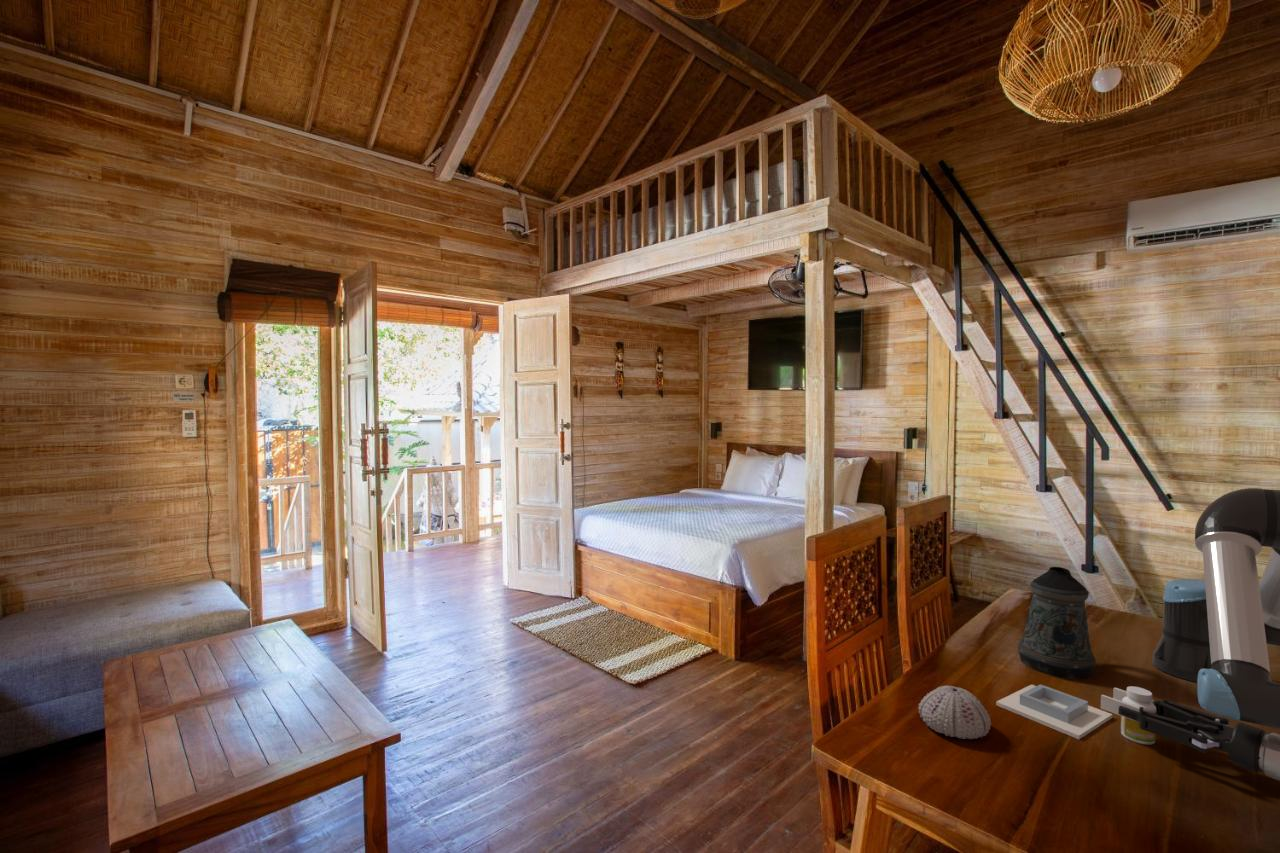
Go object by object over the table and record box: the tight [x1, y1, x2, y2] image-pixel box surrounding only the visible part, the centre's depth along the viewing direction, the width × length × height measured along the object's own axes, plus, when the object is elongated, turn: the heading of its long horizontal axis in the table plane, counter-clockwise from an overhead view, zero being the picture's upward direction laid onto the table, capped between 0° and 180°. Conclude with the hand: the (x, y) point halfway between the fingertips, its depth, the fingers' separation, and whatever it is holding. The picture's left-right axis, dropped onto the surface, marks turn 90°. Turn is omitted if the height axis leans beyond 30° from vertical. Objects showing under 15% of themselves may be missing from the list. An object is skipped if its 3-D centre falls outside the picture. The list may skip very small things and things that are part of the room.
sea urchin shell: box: [917, 685, 992, 740], centre depth 124 cm, size 13×14×8 cm
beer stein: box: [1017, 566, 1097, 680], centre depth 155 cm, size 16×19×25 cm
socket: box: [995, 684, 1113, 740], centre depth 131 cm, size 16×16×3 cm
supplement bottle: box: [1120, 686, 1157, 746], centre depth 120 cm, size 5×5×10 cm
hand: (1108, 697), depth 125 cm, fingers closed on supplement bottle, 5 cm apart
